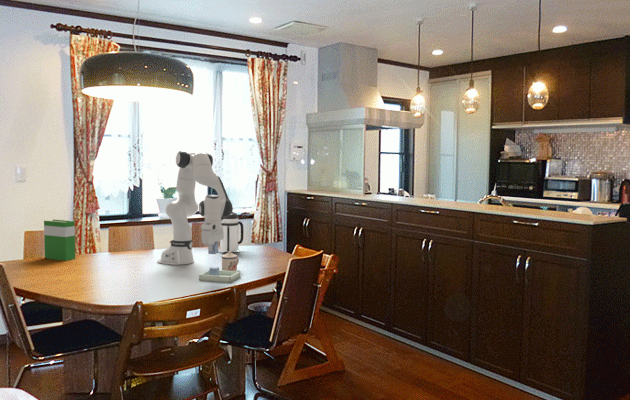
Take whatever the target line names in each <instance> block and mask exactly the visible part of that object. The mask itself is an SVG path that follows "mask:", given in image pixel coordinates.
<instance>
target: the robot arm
mask: <svg viewBox="0 0 630 400" xmlns="http://www.w3.org/2000/svg"><path fill="white" fill-rule="evenodd" d="M213 162H214V158H213V156H212V154H210V153H208V152H202V151H196V150H195V151H194V150H179V151H178V152H177V154H176V156H175V164H176V165H177V167H178V168H179V170H178V174H177V180H176V187H175V189H176V192H178V200H174V201H171V202H170V203H168V204H167V205H166V207H165V213H166V215H167V217H168V218H169V219H170V221H171V224H172V236H173V237H172V238H173V239H172V240H170V241H169V244H170V246H168V247H167V248H166V249H165V250H163V251H162V252H161V255H160V259H158V260H157V263H158V264H163V265H164V264H165V265H171V266H173V265H174V266H179V265H188V264H189V265H190V264H193V263H195V259H194V255H193V250H192V249H193V239H192V235H193V234H192V227H191V225H190V224H189V222H188V218H189V217H192V216H194V215H195V214H196V213H197V212H198V214H199V215H201V217H203V218H204V222H203V223H202V224H201V225H200V230H201V234H200V236H201V243H202V244H203V245H207V248H208V247H209V251H213V247H212V245H213V244H218V245H219V244H220V240H222V239H223V238H224V231H223V227H222V225H221V217H228V216H229V215H231V213H233V211H234V210H233V209H234V207H233V204H232V201H231V200H230V198H229V196H228V193H227V191H226V189H225V186H224V183H223V181H222V179H221V177H220V176H218V175H217V174H216V173H215V172H214V170H213V164H214V163H213ZM196 182H197V183H198V184H200V185H201V186H205V187H209V188H212V189H213V190H215V192H216V194H207V195H206V196H205V198H204V200H201V201H200V203H197V202H196V197H195V196H196V195H195V192H196V191H195V189H196Z"/></svg>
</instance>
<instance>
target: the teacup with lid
mask: <svg viewBox="0 0 630 400" xmlns="http://www.w3.org/2000/svg"><path fill="white" fill-rule="evenodd" d="M239 263H240V262H239V258H238V255H237V254H234V253H233V252H231V251H228V253H227V252H226V253H225V254H222V255H221V270H224V271H237V272H238V269H237V268H238V264H239Z"/></svg>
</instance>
